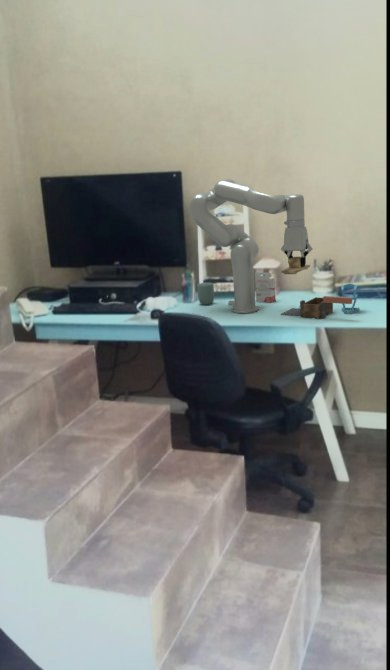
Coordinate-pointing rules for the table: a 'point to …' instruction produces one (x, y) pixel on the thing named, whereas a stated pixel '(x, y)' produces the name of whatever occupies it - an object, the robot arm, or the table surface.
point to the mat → (292, 312)
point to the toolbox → (315, 308)
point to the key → (337, 300)
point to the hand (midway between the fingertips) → (297, 265)
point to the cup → (205, 293)
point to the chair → (354, 296)
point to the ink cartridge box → (264, 287)
